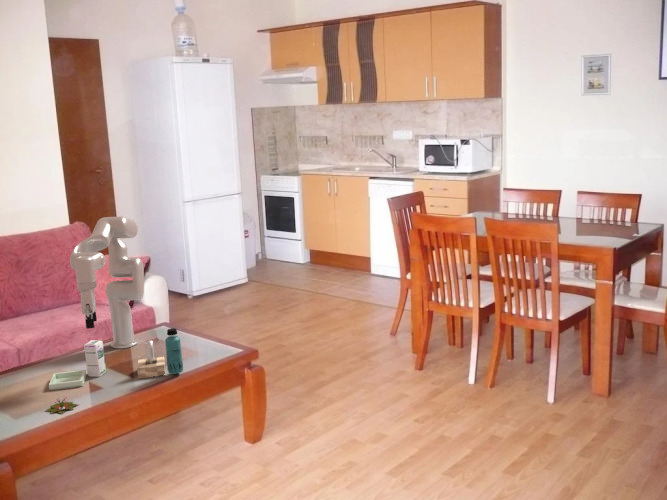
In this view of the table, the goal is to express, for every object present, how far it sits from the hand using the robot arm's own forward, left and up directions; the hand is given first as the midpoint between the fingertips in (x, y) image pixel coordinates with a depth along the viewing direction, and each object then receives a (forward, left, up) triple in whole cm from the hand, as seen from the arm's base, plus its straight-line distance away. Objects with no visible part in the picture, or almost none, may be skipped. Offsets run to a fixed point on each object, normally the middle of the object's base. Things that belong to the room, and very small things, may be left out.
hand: (91, 324), depth 294 cm
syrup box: (0, 0, -22) cm, 22 cm away
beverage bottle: (+12, +33, -22) cm, 41 cm away
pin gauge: (+6, +23, -22) cm, 32 cm away
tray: (+6, -11, -22) cm, 26 cm away
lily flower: (+33, -10, -23) cm, 41 cm away
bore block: (+6, +23, -22) cm, 32 cm away
